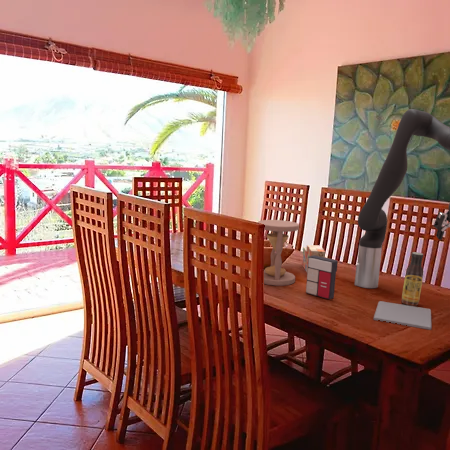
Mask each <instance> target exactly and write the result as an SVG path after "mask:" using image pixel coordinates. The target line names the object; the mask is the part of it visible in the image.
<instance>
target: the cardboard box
mask: <svg viewBox="0 0 450 450" xmlns="http://www.w3.org/2000/svg"><path fill="white" fill-rule="evenodd" d="M313 255H315V256H320V257H324V258H326V256H325V255H326V251H325V249H324V248H323V247H322V246H321V245H316V244H315V245H313V244H311V245H310V244H307V245H306V246H303V248H302V263H301V264H302V267H303V269H304V270H305V271H306V273H307V271H308V258H309V256H313Z"/></svg>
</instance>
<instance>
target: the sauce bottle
mask: <svg viewBox="0 0 450 450" xmlns="http://www.w3.org/2000/svg"><path fill="white" fill-rule="evenodd" d="M410 256H411V259H410V263H409V265H408V267H406V269H405V276H404V281H403V287H402V295H401V303H402V305H408V306H414V307H418V305H419V302H420V297H421V292H422V285H423V279H424V272H425V271H424V269H423V267H422V262H423V258H424V253H421V252H417V251H416V252H415V251H413V252H411V255H410Z"/></svg>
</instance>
